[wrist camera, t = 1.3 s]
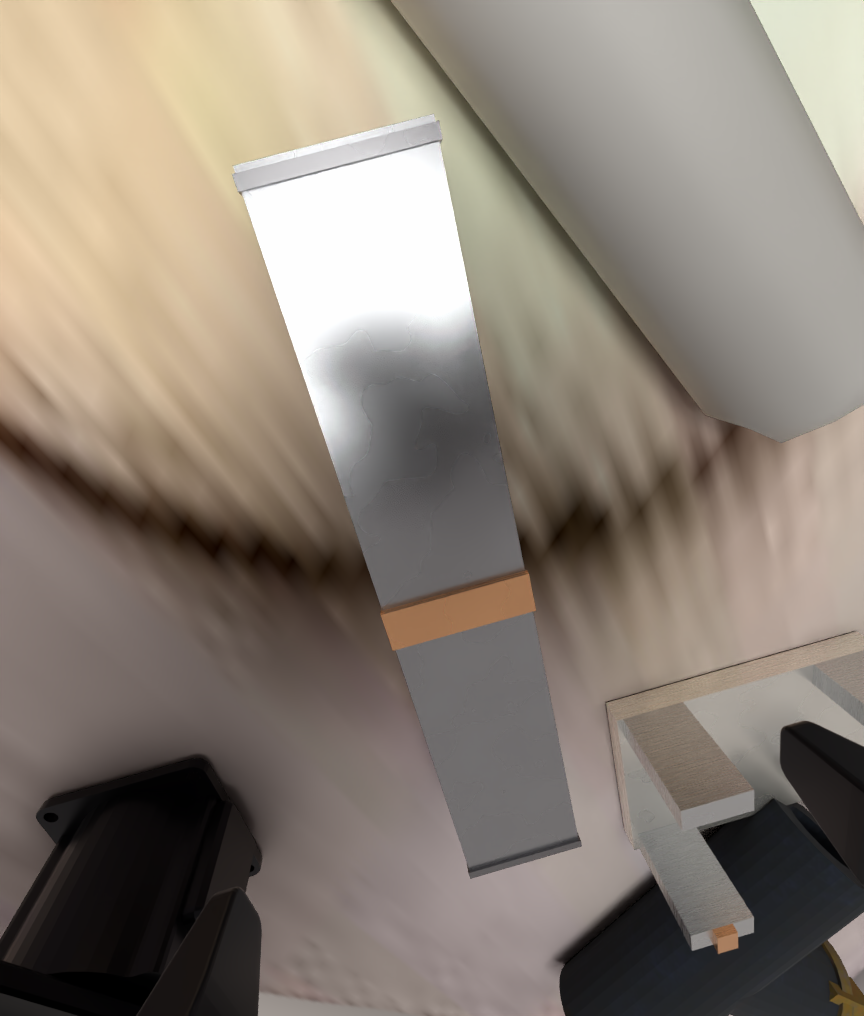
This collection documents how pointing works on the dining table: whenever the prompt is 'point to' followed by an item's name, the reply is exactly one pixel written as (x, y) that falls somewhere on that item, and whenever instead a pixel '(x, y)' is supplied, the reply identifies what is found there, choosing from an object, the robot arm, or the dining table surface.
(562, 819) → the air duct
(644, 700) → the collar rail
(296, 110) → the dining table surface
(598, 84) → the tube
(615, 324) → the dining table surface
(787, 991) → the pipe connector
